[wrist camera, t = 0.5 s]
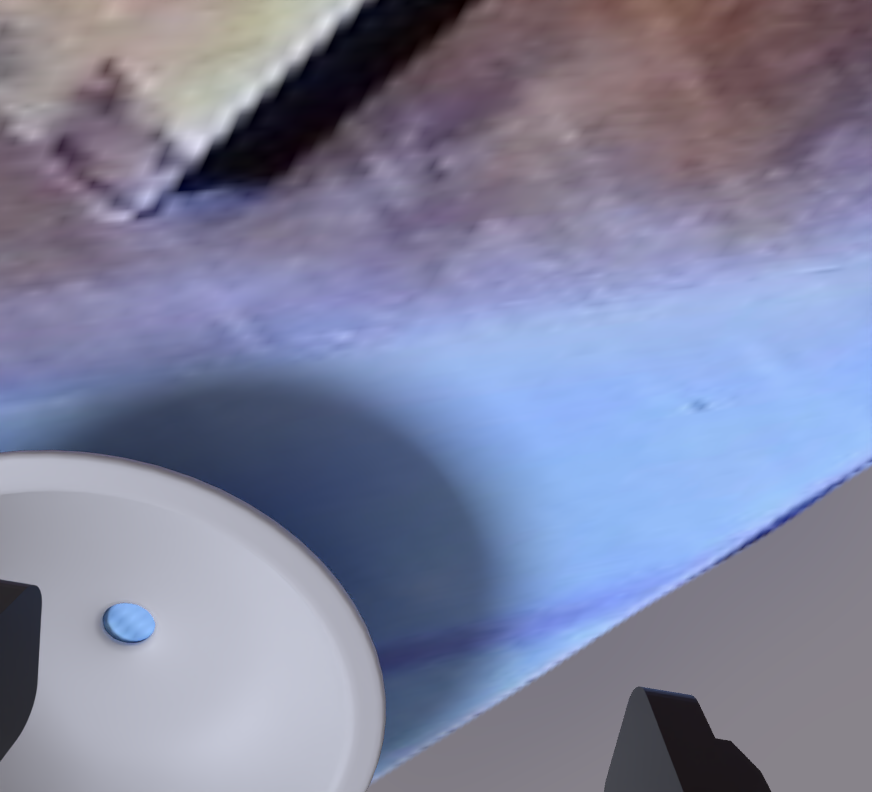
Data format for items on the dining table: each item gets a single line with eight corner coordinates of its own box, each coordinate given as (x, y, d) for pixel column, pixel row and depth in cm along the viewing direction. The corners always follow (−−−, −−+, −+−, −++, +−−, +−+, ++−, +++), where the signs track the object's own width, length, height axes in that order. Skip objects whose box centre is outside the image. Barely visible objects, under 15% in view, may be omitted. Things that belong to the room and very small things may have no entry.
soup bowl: (-244, 648, 38) (-364, 761, 31) (52, 267, 32) (-23, 315, 26) (185, 871, 45) (155, 998, 39) (486, 593, 39) (507, 690, 33)
